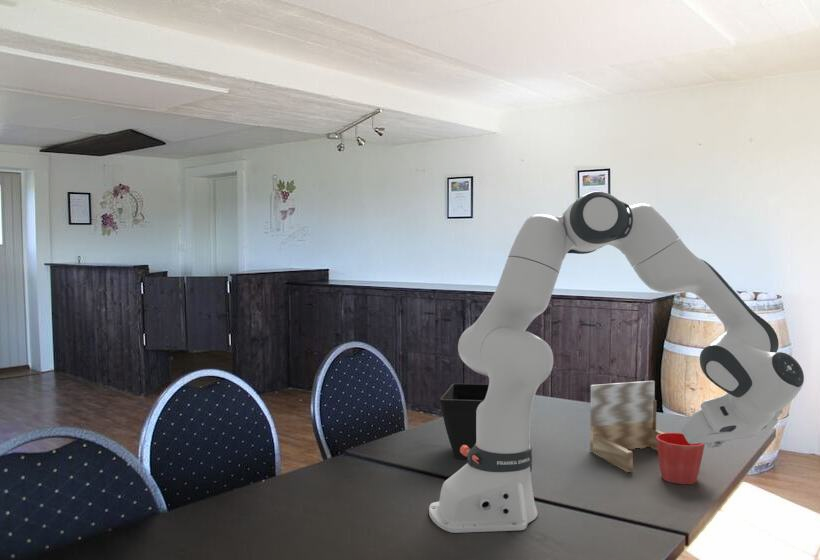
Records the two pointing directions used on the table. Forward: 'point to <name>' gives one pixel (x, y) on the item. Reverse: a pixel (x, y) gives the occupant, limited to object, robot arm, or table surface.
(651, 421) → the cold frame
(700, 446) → the flower pot
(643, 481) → the table surface
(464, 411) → the flower pot
